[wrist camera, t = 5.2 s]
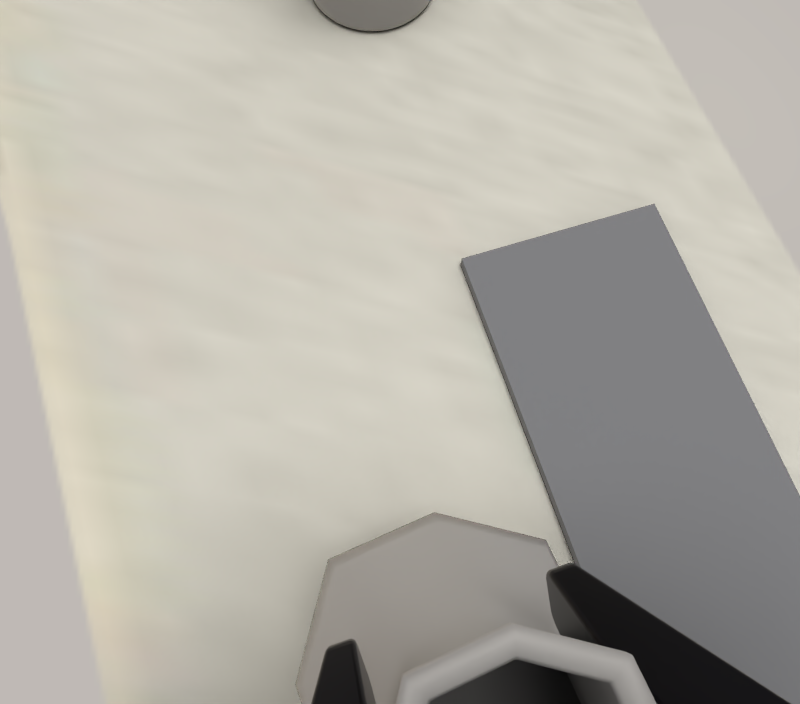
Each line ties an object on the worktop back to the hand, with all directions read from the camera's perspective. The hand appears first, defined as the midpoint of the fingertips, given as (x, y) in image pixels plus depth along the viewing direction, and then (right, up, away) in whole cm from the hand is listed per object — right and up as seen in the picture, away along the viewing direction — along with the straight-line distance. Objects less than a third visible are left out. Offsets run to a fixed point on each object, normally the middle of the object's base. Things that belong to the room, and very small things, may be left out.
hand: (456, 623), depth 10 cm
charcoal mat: (+8, -1, +13) cm, 15 cm away
